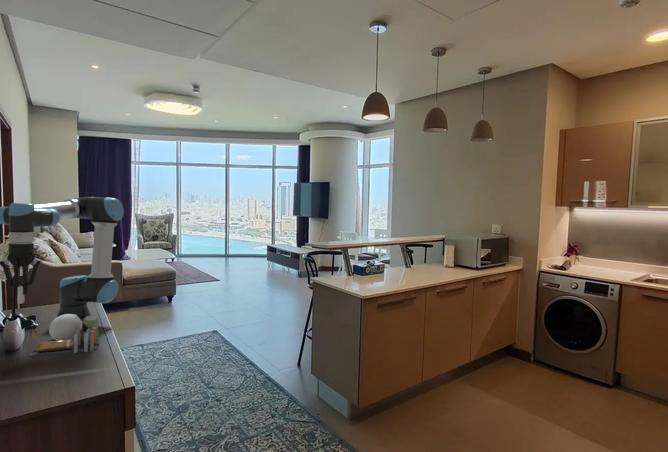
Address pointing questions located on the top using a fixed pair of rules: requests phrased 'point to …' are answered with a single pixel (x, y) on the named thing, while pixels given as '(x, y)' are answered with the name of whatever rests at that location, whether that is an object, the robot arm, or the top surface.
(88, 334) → the collar
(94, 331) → the aperture bridge
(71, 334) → the decorative ball
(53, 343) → the copper tube
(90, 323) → the beverage can
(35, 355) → the grey open frame rack
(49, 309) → the top surface
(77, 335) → the collar
